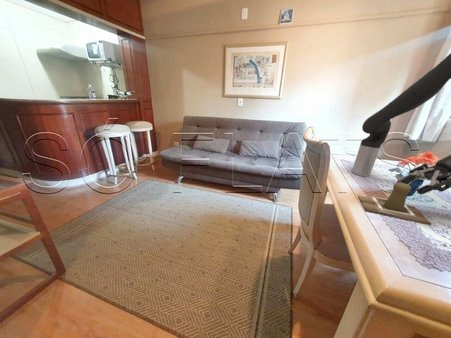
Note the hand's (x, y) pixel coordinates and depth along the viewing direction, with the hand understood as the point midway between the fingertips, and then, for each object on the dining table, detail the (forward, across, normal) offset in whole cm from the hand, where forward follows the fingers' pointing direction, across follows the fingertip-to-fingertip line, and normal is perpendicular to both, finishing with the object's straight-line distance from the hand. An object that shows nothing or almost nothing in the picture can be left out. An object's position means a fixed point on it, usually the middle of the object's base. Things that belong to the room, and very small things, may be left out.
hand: (409, 187), depth 71 cm
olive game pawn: (+9, 0, +6) cm, 10 cm away
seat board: (+10, 0, +5) cm, 11 cm away
